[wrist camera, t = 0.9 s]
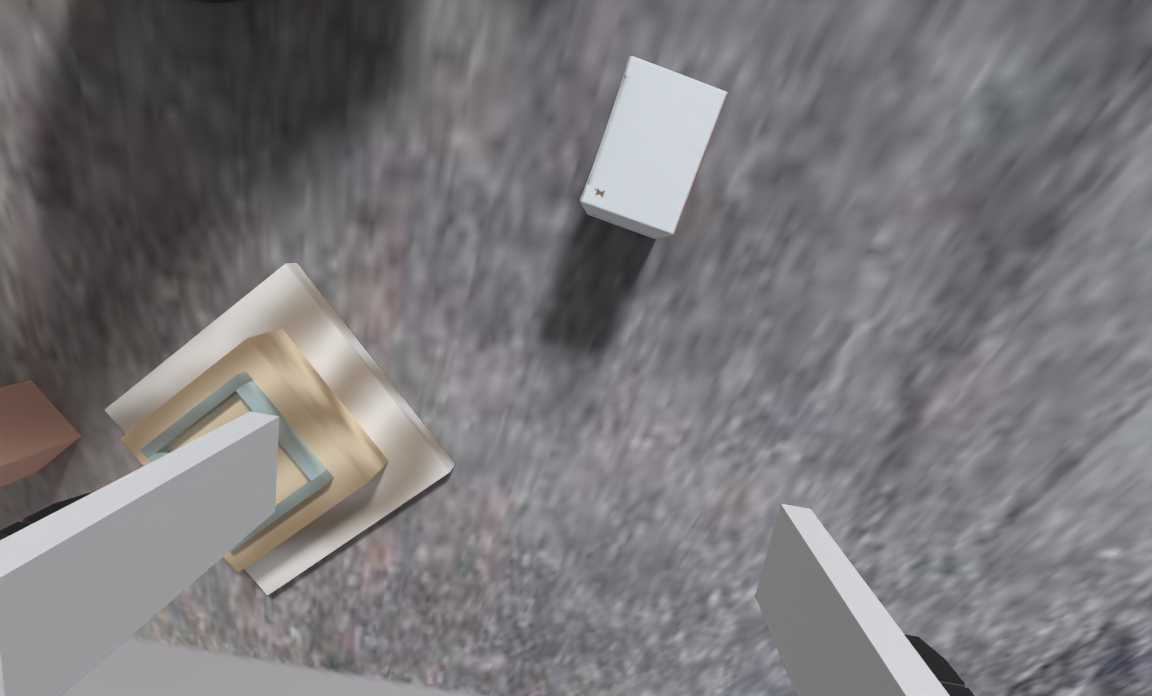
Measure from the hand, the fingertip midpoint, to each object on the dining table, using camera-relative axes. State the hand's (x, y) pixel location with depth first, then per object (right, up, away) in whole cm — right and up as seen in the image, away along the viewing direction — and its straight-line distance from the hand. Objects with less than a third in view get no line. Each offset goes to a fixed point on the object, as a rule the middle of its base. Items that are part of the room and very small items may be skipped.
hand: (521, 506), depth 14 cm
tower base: (-22, -3, +30) cm, 38 cm away
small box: (+6, +17, +25) cm, 31 cm away
